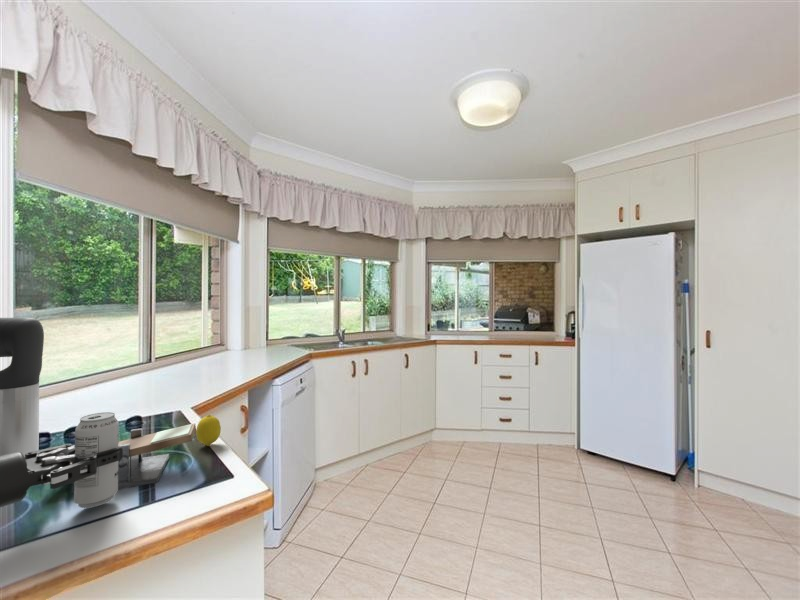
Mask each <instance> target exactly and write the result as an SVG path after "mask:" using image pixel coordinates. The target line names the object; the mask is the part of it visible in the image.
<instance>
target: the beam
mask: <svg viewBox="0 0 800 600" xmlns="http://www.w3.org/2000/svg"><path fill="white" fill-rule="evenodd" d="M196 429H197V425H196V423H189V424H186V425H181V426H177V427H174V428H169V429H165V430H160V431H157V432H154V433H149V434H146V435H145V434H144V435H143V436H140V437H136V438H132V439H131V438H129V439H124V440H119V445H123V444H130V457H132V456H136V455H140V454H142V455H143V454H147V453H151V452H154V451H159V450H162V449H166V448H170V447H174V446H178V445H182V444H185V443H190V442H193V439H194V437H195V434H196ZM70 465H72V462H71V463H70Z"/></svg>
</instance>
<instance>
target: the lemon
mask: <svg viewBox="0 0 800 600" xmlns="http://www.w3.org/2000/svg"><path fill="white" fill-rule="evenodd" d="M221 427H222V426H221V423H220V421H219V419H218V418H217V417H216V416H214V415H211V414H207V415H206V416H204V417H202V418H201V419H200V420H199V421H198V423H197V425H196V431H195V434H196V438H197V441H198V442H199V443H201V444H203V445H205V446H206V447H210V446H211V445H212V444H213V443H215V442H217V440H218V439H219V437H220V435H221Z"/></svg>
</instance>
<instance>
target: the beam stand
mask: <svg viewBox="0 0 800 600" xmlns="http://www.w3.org/2000/svg"><path fill="white" fill-rule="evenodd" d="M143 430H144V429H143V427H141V428H135V429H133V428H132V429H131V430H130V439H132V438H136V437H140V436H144V435H143V434H144V433H143V432H144V431H143ZM119 447H120V448H122V449H123V457H122V459H121V460H119V461H118V490H121V489H127V488H132V487H138V486H145V485H151V484H157V483H158V482H159V480H160V478H161V475H162V474H163V472H164V470H165V467H166V465H167V463H168V460H170V454H169V453H167V454H166V453H164V454H159V455H152V456H151V455H150V456H145V457H144V456H143V454H140V455H136V456H132V457H130V444H123V445H119Z"/></svg>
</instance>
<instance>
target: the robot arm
mask: <svg viewBox="0 0 800 600" xmlns="http://www.w3.org/2000/svg"><path fill="white" fill-rule="evenodd" d="M44 338H45V333H44V327H43V325H42V323H41V321H40V320H39V319H37V318H34V317H0V358H11V361H10V364H9V365H8V366H7V367H5V368H4V369H1V370H0V508H4V507H6V506H9V505H13V504H15V503H16V504H17V503H18V502H21V501H22V500H23V499H24V498H25V497H26V496H27V493H28V491H29V489H30V488H31V487H33V486H34V487H35V486H39V485H48V484H49V488H50V489H51V490H53V489H54V490H55V489H58V488H61V487H63V486H66V485H69V484H72V483H74V482H75V481H77V480H80V479H83V478H86V477H88V476H91V475H94V474H96V473H97V467H100V466H103V465H106V464H110V463H113V462H116V461H119V460H121V459H122V457H123V449H122V448H120V447H117V448H114V449H110V450H107V451H103V452H99V453H96V454H91V455H85V456H80V455H79V454H75V444H74V445H72V443H66V444H62V445H57V446H53V447H47V448H44V449H43V448H42V449H39V445H40V444H39V443H40V441H39V439H40V438H39V437H40V376H41V372H42V368H43V354H44V353H43V351H44V341H45V339H44ZM80 461H81V462H80ZM71 462H72V465H70V463H71ZM86 465H87V467H83V466H86ZM81 467H83V468H81ZM80 473H81V474H80Z"/></svg>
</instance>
